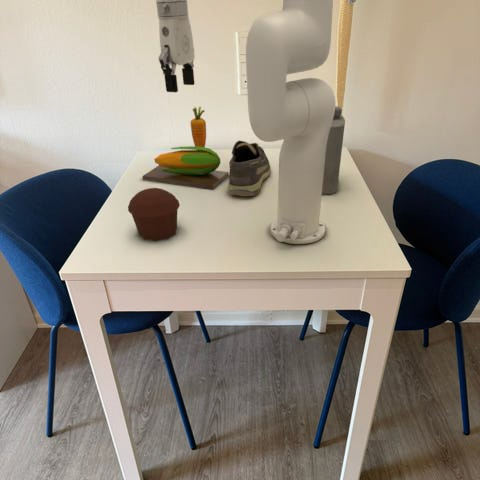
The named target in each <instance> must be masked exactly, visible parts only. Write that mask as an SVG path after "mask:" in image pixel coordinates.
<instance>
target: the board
mask: <svg viewBox="0 0 480 480" xmlns="http://www.w3.org/2000/svg"><path fill="white" fill-rule="evenodd" d="M163 169H170V168H166V167H163V166H161V165H156V166H155V167H154V168H152V169H151V170H150V171H148V172H146V173H145V174H143V175H142V181H149V182H157V183H162V184H171V185H177V186H186V187H191V188H199V189H207V190H214V189H216V187H218V186H219V185H220V184H221V183H222V182H223V181H224V180H226V179H227V178H229V171H224V170H217V169H216V170H215V171H213V172H211V173H209V174H207V175H181V174H172V173H168V172H164V171H162V170H163Z"/></svg>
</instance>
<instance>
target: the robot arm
mask: <svg viewBox="0 0 480 480" xmlns="http://www.w3.org/2000/svg"><path fill="white" fill-rule="evenodd" d="M155 2H156V13H157V19H158V29H159V30H158V31H159V34H158V35H159V47H160V54H159V56H158V62H159V64H160V68H161V71H162V75H163V76H164V83H165V90H166V92H167V93H178V92H179V86H178V78H177V74H175V73H176V70H177V69H176V68H177V66H181V67H182V68H181V72H182V73H181V74H182V84H183V85H184V86H194V85H195V73H194V67H195V65H194V60H195V58H196V57H195V55H196V54H195V46H194V37H193V32H192V26H191V21H190V17H189V7H188V0H155ZM333 8H334V0H282V9H281V10H277V11H269V12H266V13H262V14H261V15H259V16H258V17H257V18H256V19H255V20H254V21H253V22H252V24H251V26H250V29H249V31H248V34H247V37H246V44H245V69H246V70H245V71H246V91H247V111H248V119H249V124H250V128H251V130H252V132H253V134H254V135H255V136H256V138H257V139H259V140H260V141H263V142H264V143H265V142H266V143H274V142H278V141H282V143H281V146H280V151H279V157H278V187H277V218H276V219H275V220H274V221H273V222H272V223H271V224H270V227H269V229H270V234H271V236H272V237H274V238H275V239H276V240H277V241H278V242H281V243H286V244H292V245H305V244H311V243H315V242H318V241H320V240H321V239H323V237H324V236H325V233H326V226H325V224H324V223H323V222H322V221H320V217H321V205H322V195H323V194H322V185H323V174H324V165H325V155H326V147H327V140H328V135H329V131H330V128H331V124H332V121H333V117H334V112H335V106H336V98H335V97H336V96H335V93H334V90H333V89H332V87H331V86H330V84H328V82H327V81H325V80H323V79H320V78H318V77H317V78H316V77H315V78H314V77H306V78H300V79H295V80H290V81H287V75H292V74H298V73H303V72H308V71H312V70H315V69H318V68H319V67H322V66H323V65H324V64H325V62H326V61H327V59H328V57H329V55H330V51H331V43H332V28H333V10H334V9H333Z"/></svg>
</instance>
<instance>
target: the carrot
mask: <svg viewBox="0 0 480 480" xmlns="http://www.w3.org/2000/svg"><path fill="white" fill-rule="evenodd" d="M192 112H193V114H194V118H192V119H191V120H190V131H191V137H192V141H193V146H200V147H205V148H206V144H207V143H206V142H207V122H206V120H205V119H204V118H203V117H202V115H203V113H205V110H204V109H202V107H201V106H198V109H197V107H196V106H194V107H193V108H192Z"/></svg>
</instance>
